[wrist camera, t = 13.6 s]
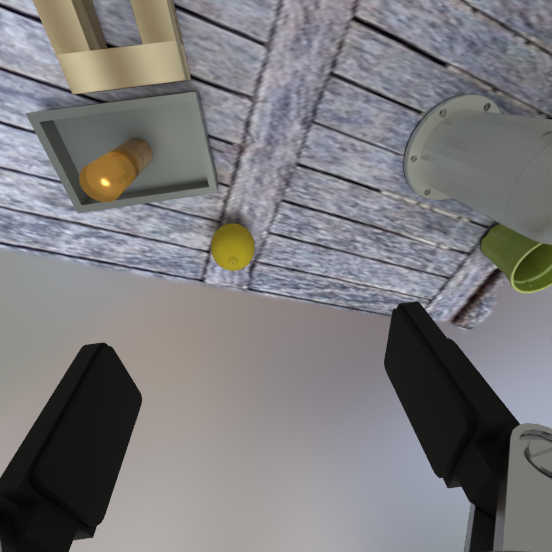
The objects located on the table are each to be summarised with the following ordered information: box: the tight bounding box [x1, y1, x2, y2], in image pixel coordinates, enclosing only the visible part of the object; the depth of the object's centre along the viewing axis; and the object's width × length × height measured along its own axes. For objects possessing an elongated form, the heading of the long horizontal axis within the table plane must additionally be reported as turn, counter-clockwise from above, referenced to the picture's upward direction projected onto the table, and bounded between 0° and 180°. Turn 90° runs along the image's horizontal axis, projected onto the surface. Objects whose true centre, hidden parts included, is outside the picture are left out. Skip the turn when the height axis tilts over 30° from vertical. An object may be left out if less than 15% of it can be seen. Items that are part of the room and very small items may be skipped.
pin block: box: [33, 0, 191, 94], centre depth 25 cm, size 10×10×5 cm
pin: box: [79, 138, 153, 202], centre depth 28 cm, size 3×3×12 cm
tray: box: [26, 91, 219, 213], centre depth 32 cm, size 16×10×4 cm, turn 95°
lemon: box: [211, 223, 255, 271], centre depth 37 cm, size 6×6×8 cm
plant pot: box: [481, 224, 552, 293], centre depth 44 cm, size 9×9×9 cm
